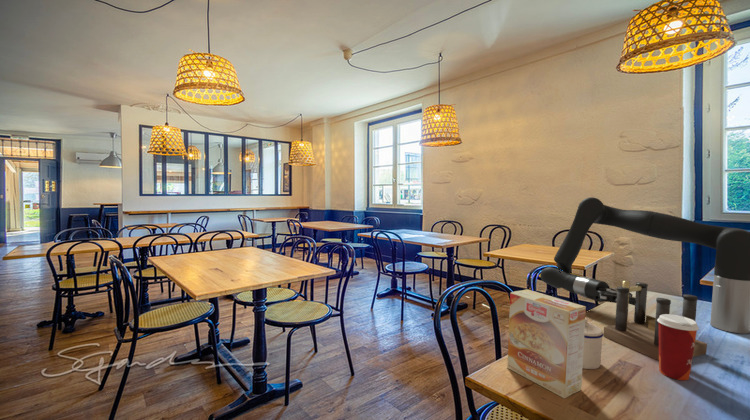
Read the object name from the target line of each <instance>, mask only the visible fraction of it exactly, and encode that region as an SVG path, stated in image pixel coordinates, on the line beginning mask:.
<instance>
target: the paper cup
mask: <svg viewBox="0 0 750 420" xmlns="http://www.w3.org/2000/svg"><path fill="white" fill-rule="evenodd" d="M657 321H658V322H659V360H658V368H659V369H658V371H659V372H660V374H662V375H664V376H666V377H668V378H670V379H672V380H678V381H683V382H684V381H689V379H690V375H691V370H692V363H693V358H694V357H693V352H694V345H695V339H696V338H697V332H698V331H699V329H700V328H699V326H698V323H697V322H696V320H695V321H694V320H692V319H689V318H686V317H683V316H682V315H679V314H678V315H677V314H671V313H670V314H662V315H660V316H659V318H658V319H657ZM696 340H697V339H696Z"/></svg>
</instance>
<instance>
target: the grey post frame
mask: <svg viewBox="0 0 750 420" xmlns="http://www.w3.org/2000/svg"><path fill="white" fill-rule="evenodd" d="M621 285H622V286H621V287H626V288H629V292H630V293H633V292H635V296H634V297H635V305H634V314H633V315H634V317H633V322H636V323H640V324H645V322H646V315H647V314H646V313H647V299H648V298H647V297H648V296H647V295H648V286H649V284H648V283H647V282H646V283H644V282H641V281H640V282H639V281H638V282H635V285H631V281H629V280H622V284H621ZM628 305H630V304H629V295H628ZM628 319H629V311H628V312H627V321H628Z"/></svg>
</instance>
